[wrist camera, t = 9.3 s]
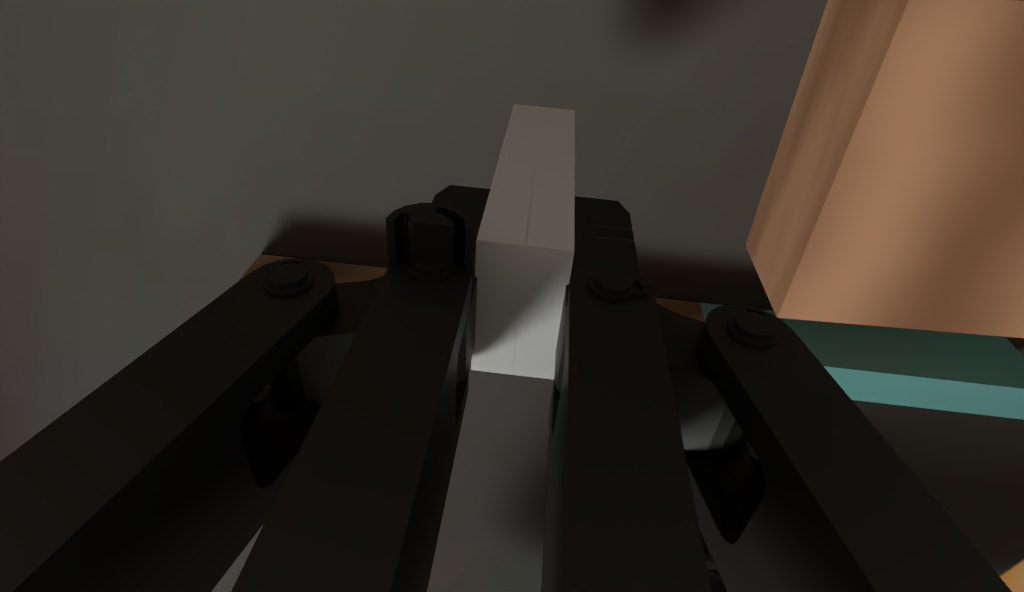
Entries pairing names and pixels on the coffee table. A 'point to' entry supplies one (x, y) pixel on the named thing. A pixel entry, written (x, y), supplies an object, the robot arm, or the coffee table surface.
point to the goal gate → (917, 366)
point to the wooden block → (902, 171)
